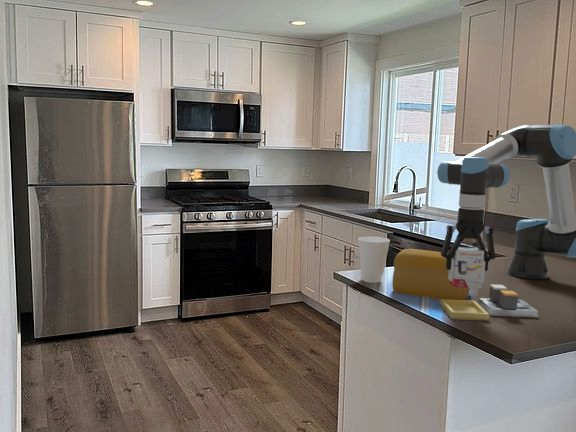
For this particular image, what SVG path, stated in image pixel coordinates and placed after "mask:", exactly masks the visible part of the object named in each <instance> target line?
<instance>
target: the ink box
mask: <svg viewBox="0 0 576 432" xmlns="http://www.w3.org/2000/svg"><path fill="white" fill-rule="evenodd" d="M452 259H453V260H455V261H454V274H453V281H450V284H451V285H452V286H454V287H458V288H470V289H482V285H483V282H482V274H483V260H484V251H483V250H480V249H479V248H478V247H460V246H459V248H458V249H457V250H456V253H455V255H454V256H453V258H452Z"/></svg>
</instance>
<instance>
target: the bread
mask: <svg viewBox="0 0 576 432" xmlns="http://www.w3.org/2000/svg"><path fill="white" fill-rule="evenodd" d="M447 254H448V253H447ZM448 274H449V270H447V269H446V258H444V257H442V256H441V251H433V250H425V249H418V248H404V249H402V250H401V251H400V252H398V253H397V255H396V256H395V257H394V260H393V274H392V284H391V285H392V286H391V287H392V291H393V292H394V293H398V294H403V295H410V296H415V297H416V296H417V297H421V298H422V297H423V298H428V299H434V300H439V301H440V300H441V299H445V300H467V298H468V297H469V296H470V290H471V288H458V287H454V286H452V285H451V284H450V280H449V279H448Z"/></svg>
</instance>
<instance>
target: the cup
mask: <svg viewBox="0 0 576 432" xmlns="http://www.w3.org/2000/svg"><path fill="white" fill-rule="evenodd" d="M357 240H358V250H359V261H360V271H361V272H360V273H361V274H362V281H363V282H365V283H369V284H378V283H379V284H380V283H382V277H383V275H384V272H385V266H386V261H387V256H388V253H389V252H388V251H389V247H390V242H391V240H390V238H386V237H381V236H361V237H358V239H357Z"/></svg>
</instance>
